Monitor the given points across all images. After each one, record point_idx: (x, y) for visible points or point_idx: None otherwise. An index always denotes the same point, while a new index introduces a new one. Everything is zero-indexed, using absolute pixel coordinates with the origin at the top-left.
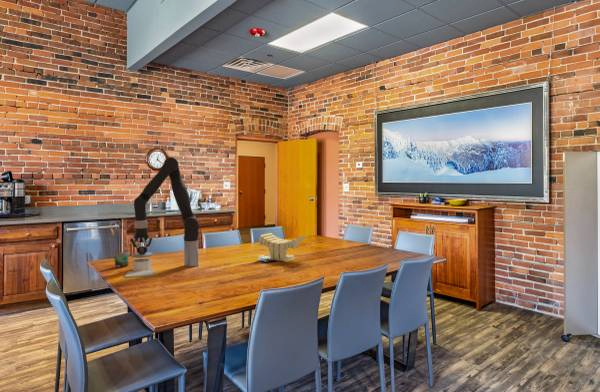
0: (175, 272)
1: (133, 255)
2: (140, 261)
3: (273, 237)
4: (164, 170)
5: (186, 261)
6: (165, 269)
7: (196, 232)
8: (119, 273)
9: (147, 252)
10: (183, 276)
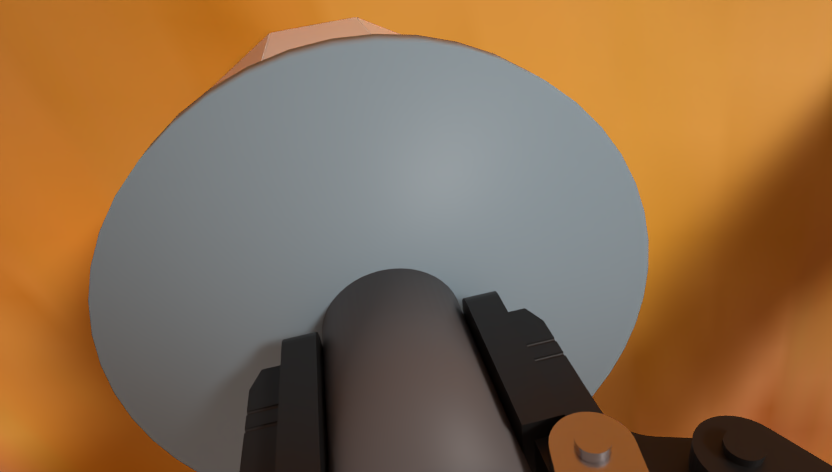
0: (783, 323)
1: (218, 460)
2: None
3: None
4: None
5: None
6: (687, 196)
7: None
8: (115, 396)
9: (486, 119)
10: (824, 432)
